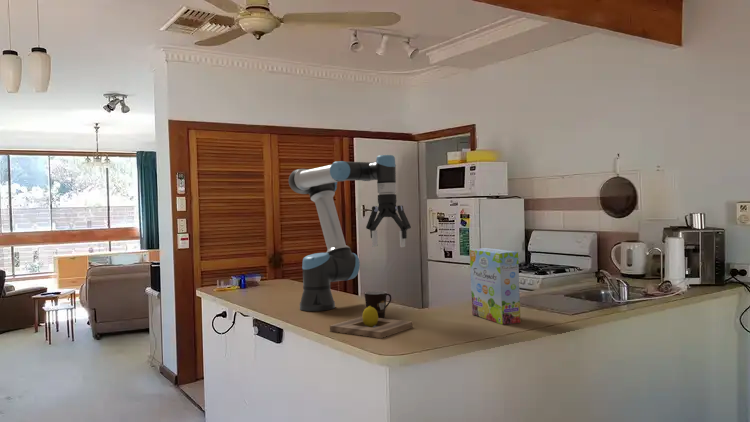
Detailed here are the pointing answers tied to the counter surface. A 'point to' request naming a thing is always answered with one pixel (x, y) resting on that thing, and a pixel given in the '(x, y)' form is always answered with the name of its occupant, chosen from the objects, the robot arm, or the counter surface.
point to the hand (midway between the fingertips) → (388, 246)
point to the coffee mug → (377, 301)
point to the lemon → (370, 316)
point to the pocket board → (378, 331)
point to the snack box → (495, 285)
